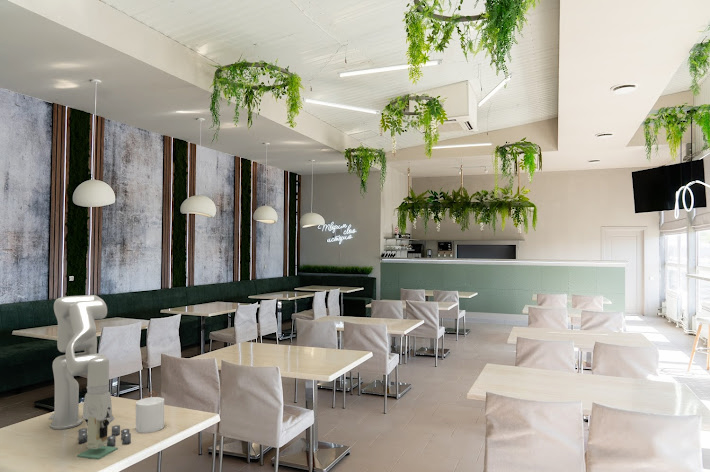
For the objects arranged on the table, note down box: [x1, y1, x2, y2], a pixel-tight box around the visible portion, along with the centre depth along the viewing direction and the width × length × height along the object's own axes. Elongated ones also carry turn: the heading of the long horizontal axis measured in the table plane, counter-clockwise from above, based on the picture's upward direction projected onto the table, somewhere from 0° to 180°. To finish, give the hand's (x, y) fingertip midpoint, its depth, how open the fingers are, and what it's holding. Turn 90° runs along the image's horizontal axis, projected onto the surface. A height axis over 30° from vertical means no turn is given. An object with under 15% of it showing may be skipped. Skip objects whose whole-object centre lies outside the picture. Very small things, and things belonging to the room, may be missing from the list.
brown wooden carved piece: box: [142, 390, 157, 399], centre depth 233 cm, size 9×4×12 cm, turn 122°
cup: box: [135, 396, 165, 434], centre depth 218 cm, size 12×12×12 cm
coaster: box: [76, 445, 119, 460], centre depth 192 cm, size 10×10×1 cm
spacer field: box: [78, 424, 132, 447], centre depth 204 cm, size 25×16×4 cm, turn 74°
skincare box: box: [87, 416, 109, 449], centre depth 192 cm, size 6×4×12 cm
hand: (97, 435), depth 192 cm, fingers closed on skincare box, 4 cm apart
